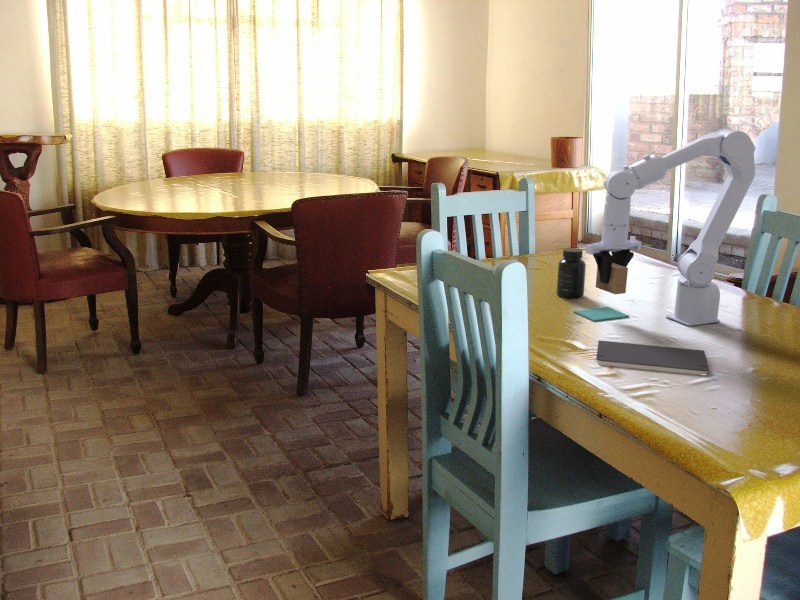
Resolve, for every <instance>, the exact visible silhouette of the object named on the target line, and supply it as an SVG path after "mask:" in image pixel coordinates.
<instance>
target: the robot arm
mask: <svg viewBox="0 0 800 600" xmlns="http://www.w3.org/2000/svg"><path fill="white" fill-rule="evenodd" d="M755 151H756V146H755V144H754V142H753V141H752V138H751V137H750V135H749V134H748V133H747V132H745V131H741V130H735V129H732V128H730V127H725V128H720V129H718V130H717V131H713V132H709V133H707V134H705V135H702V136H701V137H700V136H699V137H698V138H697V139H695V140H693V141H691V142H689V143H687V144H685V145H683V146H680V147H679V148H676V149H675V150H673V151H671V152H669V153H667V154H665V155H663V156H661V155H660V156H659V155H657V154H652V155H650V154H648V153H647V154H645V155H643V156H642V159H641V160H639V161H636V162H635V163H632V164H629V165H627V164H625V165H623V166H622V169H621V170H620V169H617V170H616V169H615V170H613V171H611V172H610V173H609V174H608V175H607V176H606V178H605V181H603V187H604V189H605V191H606V194H605V202H604V209H603V219H602V231H601V241H597V242H593V243H588V244H585V251H584V252H585V254H588V255H592V256H593V258H594V260H595V263H596V266H598V270H599V275H600V281H601V282H602V283H605V284H608V283H609V279H610V271H611V267H612V263H615V264H618V265H621V266H624V267H627V268H628V265H629V263H630V262H631V260H632V259H633V258H634V256H635V255H634V254H635V253H634V252H633V251H634V250H636V251H641V250H642V243H643V242H642V241H641V240H636V239H634V240H631V239H629V240H628V237H629V236H628V235H629V227H630V226H629V225H630V217H631V216H630V215H631V206H632V205H631V199H632V196H633V195H634V193H635V191H636V190H641V189H642V188H645V187H647V186H649V185H651V184H654V183H656V182H658V181H660V180H662V179H664V178H665V177H666V175H667V173H668V171H669V170H672V169H674V168H676V167H678V166H681V165H684V164H686V163H688V162H691V161H694V160H696V159H698V158H699V159H700V158H701V157H713V158H718V159H719V160H720V161H721V162H722V163H723V166H724V168H725V170H726V173H727V177H726V179H725V181H724V182H723V185H722V187H721V189H720V191H719V193H718V195H717V197H716V198H715V202H714V203H713V205H712V208H711V209H710V211H709V214H708V216H707V217H706V219H705V221H704V224H703V226H702V227H701V229H700V232H699V234H698V235H697V238H696V239H695V240H694V241H692V242H691V243H690V244H689V247H688V249H687V250H686V251H685V252H683V253H682V254H681V255H680V256H679V258H678V260H677V264H676V266H677V270H678V272H679V273H680V276H679V278H678V279H677V283H676V285H677V286H676V294H675V295H676V296H675V304H674V313H670V314H665V318H667V319H670V320H672V321H675V322H677V323H680V324H683V325H685V326H687V327H692V326H699V325H706V324H707V325H708V324H714V323H719V322H720V319H718V316H719V307H720V301H721V292H720V288H719V286H718V285H717V284H716V283H715V282H713V281H712V280H714V278H715V276H716V265H717V262H718V260H719V248H720V246H721V244H722V242H723V241H724V239H725V236H726V235H727V233H728V230H729V228H730V227H731V224H732V222H733V221H734V219H735V217H736V214H737V213H738V212H739V208H740V206H741V204H742V202H743V201H744V199H745V196H746V195H747V192H748V190H749V189H750V186H752V183H753V181H754V179H755V176H756V165H755Z"/></svg>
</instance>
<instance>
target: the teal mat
mask: <svg viewBox="0 0 800 600" xmlns="http://www.w3.org/2000/svg"><path fill="white" fill-rule="evenodd" d="M573 313H574V314H575V315H578V316H581V317H583V318H585V319H587V320H589V321H591V322H602V321H609V320H619V319H626V318H630V315H629V314H627V313H624V312H621V311H619V310H617V309H614V308H613V307H609V306H604V307H596V308H595V307H594V308H587V309H578V310H573Z"/></svg>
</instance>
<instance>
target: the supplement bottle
mask: <svg viewBox="0 0 800 600" xmlns="http://www.w3.org/2000/svg"><path fill="white" fill-rule="evenodd" d="M583 252H584V251H583V249H581V248H575V247H568V248H564V249H563V250H562V259H560V260H559V262H558V265H557V279H556V295H557V296H558V297H560V298H562V299H566V300H567V299H568V300H577V299H578V300H579V299H581V298H583V297H584V296H585V295H584V293H585V283H586V281H585V279H586V262H585V261H584V260H583V259H582V258H583Z"/></svg>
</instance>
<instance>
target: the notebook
mask: <svg viewBox="0 0 800 600" xmlns="http://www.w3.org/2000/svg"><path fill="white" fill-rule="evenodd" d="M596 349H597V350H596V359H595V360H596V361H597V362H596V364H597V365H601V366H610V367H618V368H630V369H637V370H639V369H640V370H648V371H649V370H650V371H658V372H659V371H660V372H667V373H668V372H669V373H677V372H679V373H678V374H686V373H690V374H689V375H696V374H707V373H709V372H710V366H709V363H708V358H707V356H706V352H705V350H703V349H692V348H682V347H673V346H670V347H669V346H662V345H661V346H660V345H651V344H640V343H629V342H621V341H620V342H619V341H609V340H598V342H597V348H596ZM707 375H708V374H707Z"/></svg>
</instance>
